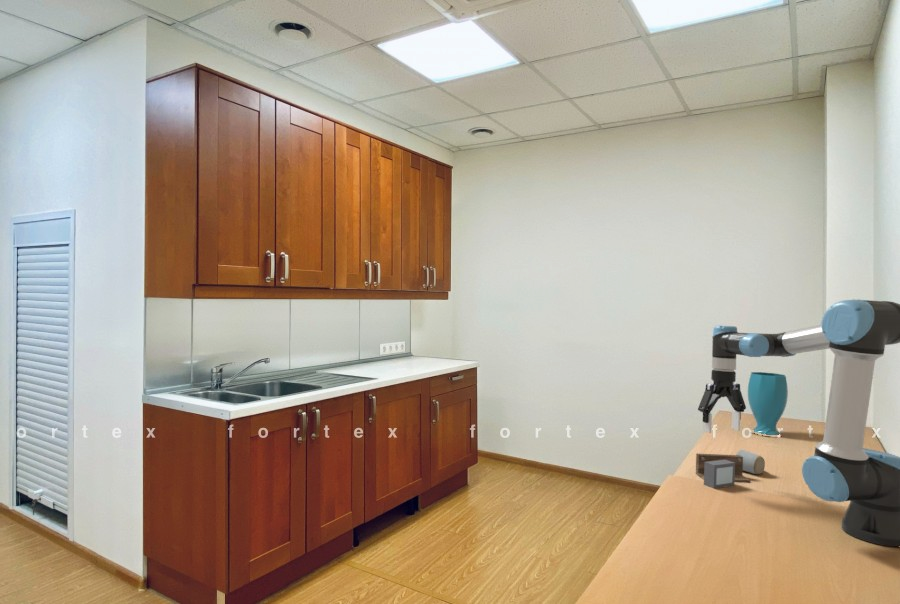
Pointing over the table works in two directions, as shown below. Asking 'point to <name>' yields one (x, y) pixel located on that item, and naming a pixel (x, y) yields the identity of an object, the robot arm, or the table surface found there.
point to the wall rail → (714, 457)
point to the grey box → (719, 473)
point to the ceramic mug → (752, 462)
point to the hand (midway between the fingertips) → (721, 430)
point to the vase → (767, 400)
